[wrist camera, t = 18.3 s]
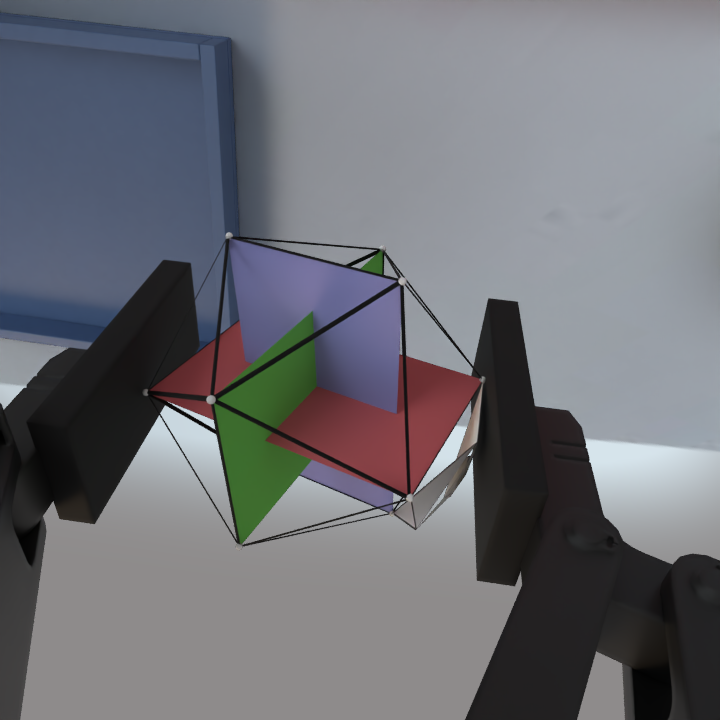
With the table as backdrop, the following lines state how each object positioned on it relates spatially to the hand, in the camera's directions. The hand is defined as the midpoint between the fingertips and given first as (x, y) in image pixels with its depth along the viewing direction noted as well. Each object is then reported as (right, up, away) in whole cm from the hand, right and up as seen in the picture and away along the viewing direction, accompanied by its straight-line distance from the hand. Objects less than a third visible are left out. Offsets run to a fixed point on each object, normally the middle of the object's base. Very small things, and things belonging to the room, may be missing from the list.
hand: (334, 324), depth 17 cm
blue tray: (-13, +7, +13) cm, 20 cm away
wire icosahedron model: (0, 0, 0) cm, 1 cm away
